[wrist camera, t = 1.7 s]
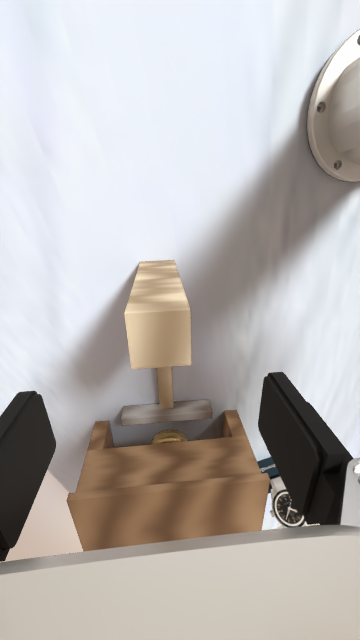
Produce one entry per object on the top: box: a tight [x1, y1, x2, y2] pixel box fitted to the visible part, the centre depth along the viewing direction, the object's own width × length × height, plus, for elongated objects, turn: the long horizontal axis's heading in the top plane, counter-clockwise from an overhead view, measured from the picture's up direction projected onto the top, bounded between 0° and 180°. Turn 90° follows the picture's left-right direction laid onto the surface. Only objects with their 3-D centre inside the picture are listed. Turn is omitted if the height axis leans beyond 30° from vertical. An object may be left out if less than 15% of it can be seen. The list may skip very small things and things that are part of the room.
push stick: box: [121, 260, 212, 426], centre depth 27 cm, size 13×23×16 cm, turn 2°
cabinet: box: [67, 410, 270, 552], centre depth 37 cm, size 23×12×12 cm, turn 92°
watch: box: [257, 457, 309, 528], centre depth 42 cm, size 6×8×11 cm
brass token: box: [151, 430, 187, 444], centre depth 41 cm, size 6×6×2 cm
